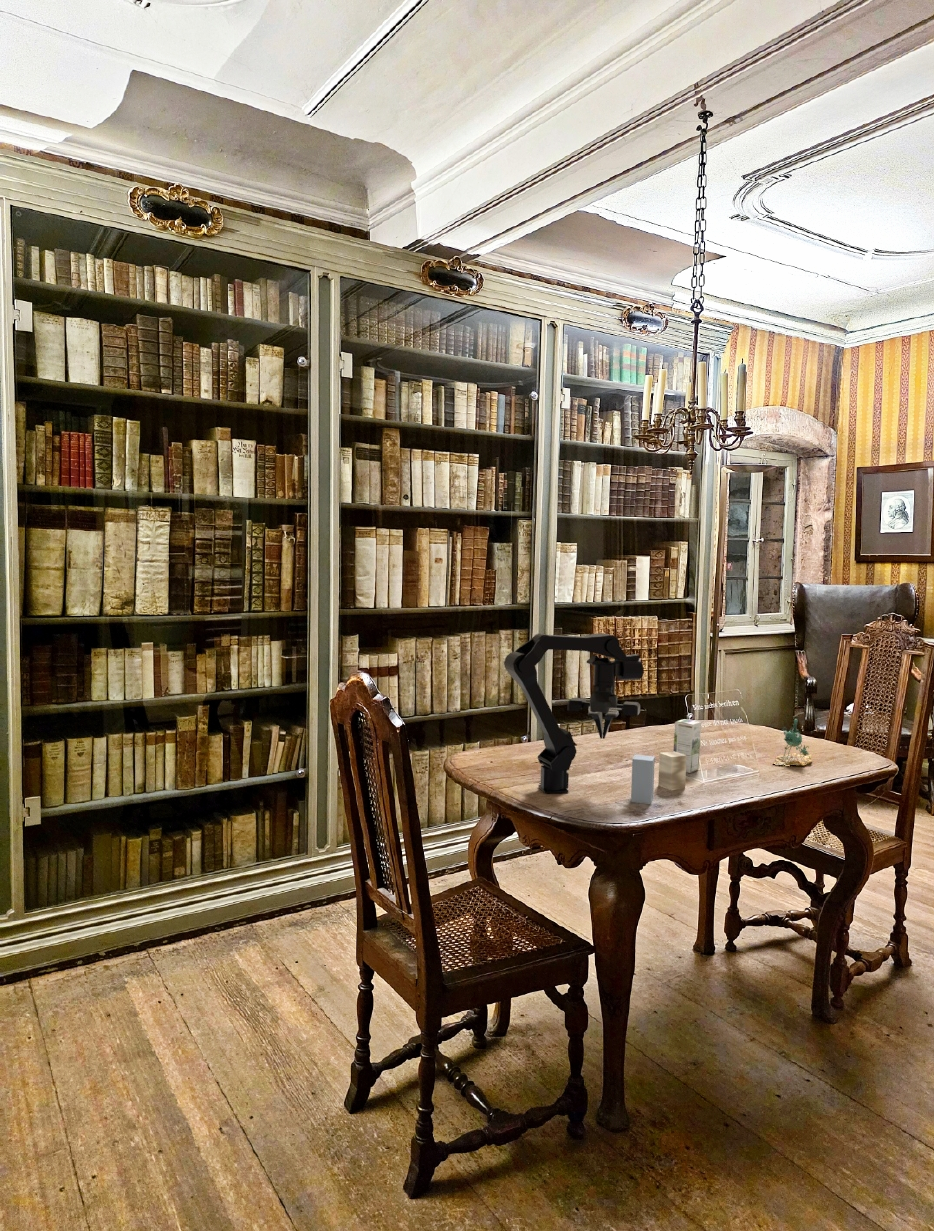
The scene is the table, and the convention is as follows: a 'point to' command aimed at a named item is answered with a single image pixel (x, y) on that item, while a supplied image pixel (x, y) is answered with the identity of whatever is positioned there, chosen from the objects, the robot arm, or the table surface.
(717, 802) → the table surface
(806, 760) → the frog figurine
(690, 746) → the syrup box
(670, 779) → the birch post
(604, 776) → the table surface
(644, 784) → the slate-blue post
